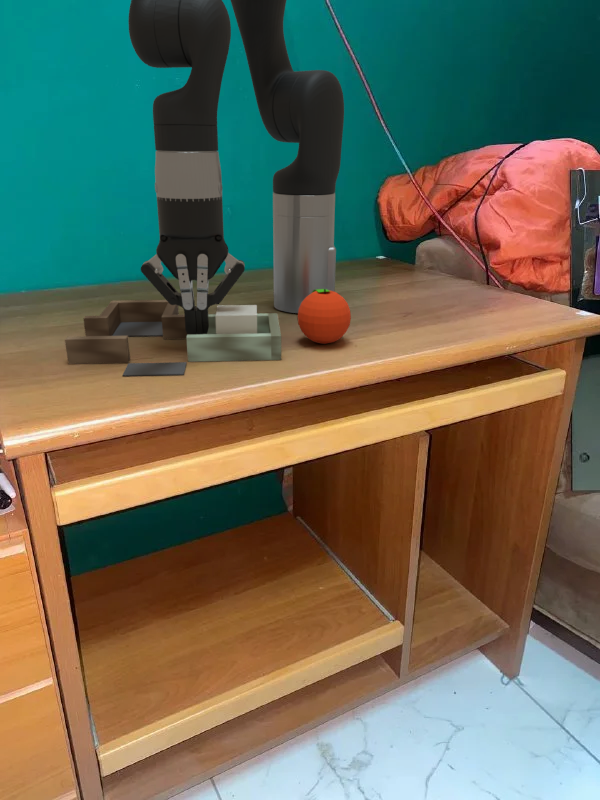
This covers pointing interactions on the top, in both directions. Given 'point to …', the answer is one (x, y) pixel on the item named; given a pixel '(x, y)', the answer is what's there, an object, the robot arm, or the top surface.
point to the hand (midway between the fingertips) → (197, 336)
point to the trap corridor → (163, 319)
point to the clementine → (324, 316)
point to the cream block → (236, 319)
